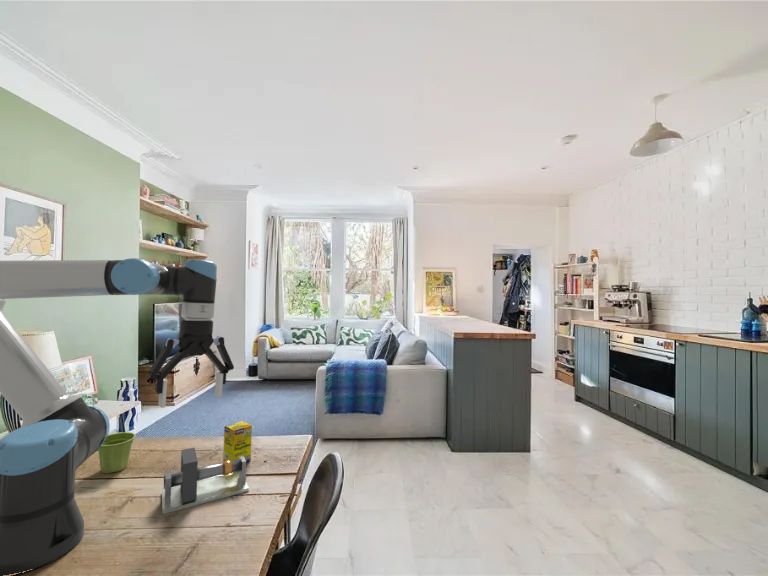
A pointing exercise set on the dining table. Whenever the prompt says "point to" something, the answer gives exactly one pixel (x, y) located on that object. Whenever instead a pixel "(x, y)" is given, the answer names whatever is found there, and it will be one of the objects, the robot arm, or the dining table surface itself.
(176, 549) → the dining table surface
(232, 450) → the supplement box
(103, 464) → the plant pot
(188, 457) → the grey slider block
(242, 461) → the pipe jig
